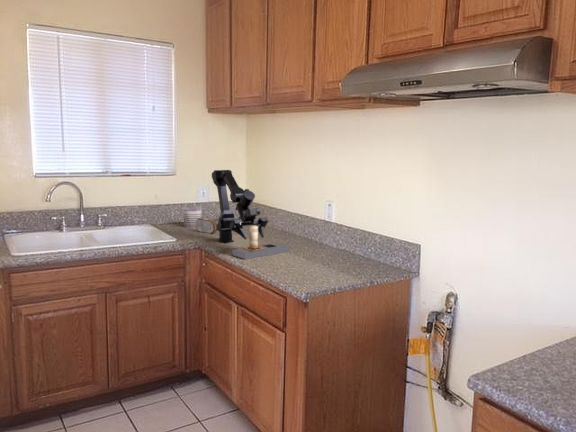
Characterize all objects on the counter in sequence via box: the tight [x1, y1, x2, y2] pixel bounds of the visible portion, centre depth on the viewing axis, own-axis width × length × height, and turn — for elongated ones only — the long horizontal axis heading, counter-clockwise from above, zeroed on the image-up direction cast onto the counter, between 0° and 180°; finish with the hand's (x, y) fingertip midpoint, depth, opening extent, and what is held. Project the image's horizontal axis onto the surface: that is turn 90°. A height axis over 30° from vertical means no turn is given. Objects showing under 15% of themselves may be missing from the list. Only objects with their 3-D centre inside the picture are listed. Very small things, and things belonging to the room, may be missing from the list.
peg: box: [248, 225, 259, 250], centre depth 234 cm, size 4×4×14 cm
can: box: [182, 205, 203, 229], centre depth 305 cm, size 11×11×12 cm
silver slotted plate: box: [231, 241, 291, 260], centre depth 238 cm, size 28×10×3 cm, turn 132°
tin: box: [195, 217, 218, 235], centre depth 286 cm, size 15×3×8 cm, turn 58°
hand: (254, 238), depth 234 cm, fingers open, 9 cm apart
